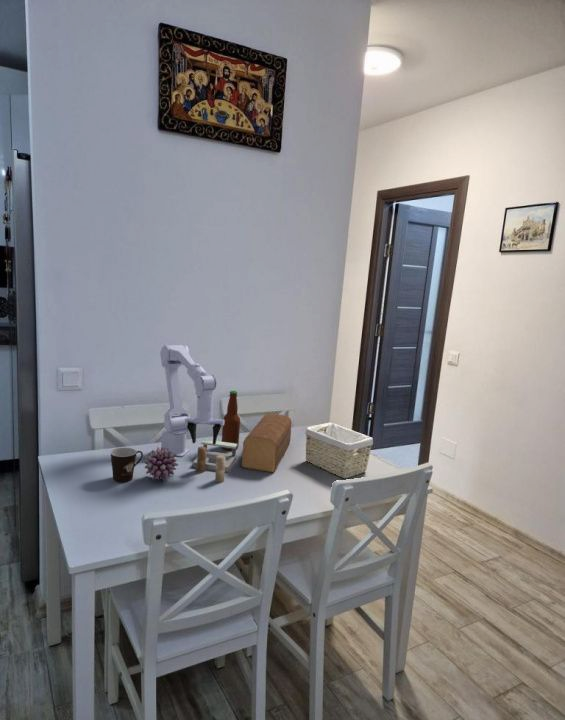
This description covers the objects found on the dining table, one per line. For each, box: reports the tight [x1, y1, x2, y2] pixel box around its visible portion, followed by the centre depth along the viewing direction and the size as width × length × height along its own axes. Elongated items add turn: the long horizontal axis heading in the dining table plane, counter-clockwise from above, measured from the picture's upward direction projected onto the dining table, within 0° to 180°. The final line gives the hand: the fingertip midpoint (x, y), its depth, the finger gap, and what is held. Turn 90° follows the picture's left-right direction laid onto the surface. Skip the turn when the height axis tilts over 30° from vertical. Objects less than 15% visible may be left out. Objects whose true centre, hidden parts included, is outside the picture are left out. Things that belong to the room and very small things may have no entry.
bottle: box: [221, 390, 241, 451], centre depth 205 cm, size 7×7×25 cm
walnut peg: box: [196, 446, 208, 473], centre depth 180 cm, size 3×3×9 cm
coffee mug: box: [110, 447, 144, 484], centre depth 169 cm, size 12×9×10 cm
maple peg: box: [214, 455, 226, 483], centre depth 173 cm, size 3×3×9 cm
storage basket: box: [304, 422, 374, 479], centre depth 195 cm, size 24×16×15 cm
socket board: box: [192, 439, 239, 473], centre depth 189 cm, size 14×13×7 cm
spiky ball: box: [143, 446, 179, 481], centre depth 170 cm, size 12×12×12 cm
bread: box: [241, 413, 292, 473], centre depth 201 cm, size 14×34×14 cm, turn 169°
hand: (204, 443), depth 180 cm, fingers open, 7 cm apart
